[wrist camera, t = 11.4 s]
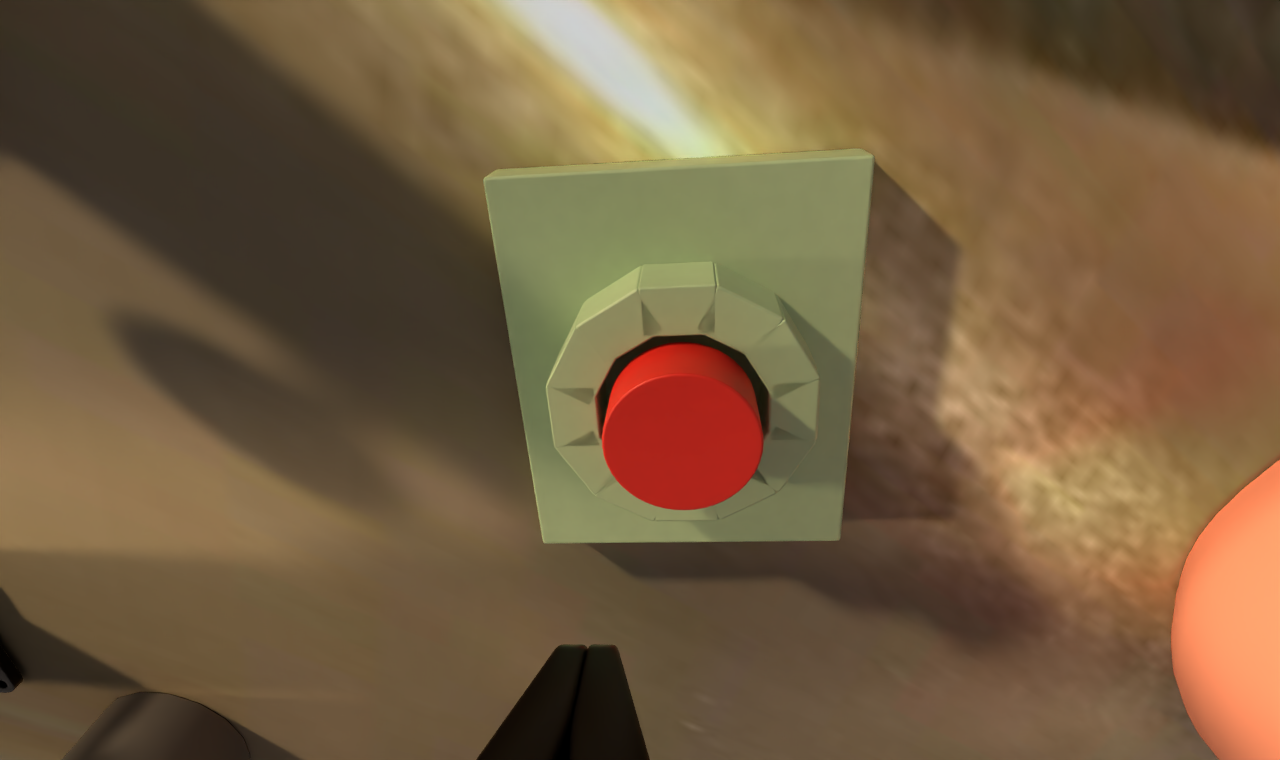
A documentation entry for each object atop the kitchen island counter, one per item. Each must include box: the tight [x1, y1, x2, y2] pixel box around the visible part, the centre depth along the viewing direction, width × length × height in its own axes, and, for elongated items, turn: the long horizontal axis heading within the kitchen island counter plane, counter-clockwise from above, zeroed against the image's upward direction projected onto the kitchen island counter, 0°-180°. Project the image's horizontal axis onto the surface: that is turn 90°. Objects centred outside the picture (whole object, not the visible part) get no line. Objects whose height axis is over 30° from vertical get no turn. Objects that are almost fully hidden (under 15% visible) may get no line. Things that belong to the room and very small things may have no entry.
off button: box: [602, 342, 764, 510], centre depth 15 cm, size 4×4×2 cm
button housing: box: [483, 148, 875, 543], centre depth 17 cm, size 11×9×3 cm
